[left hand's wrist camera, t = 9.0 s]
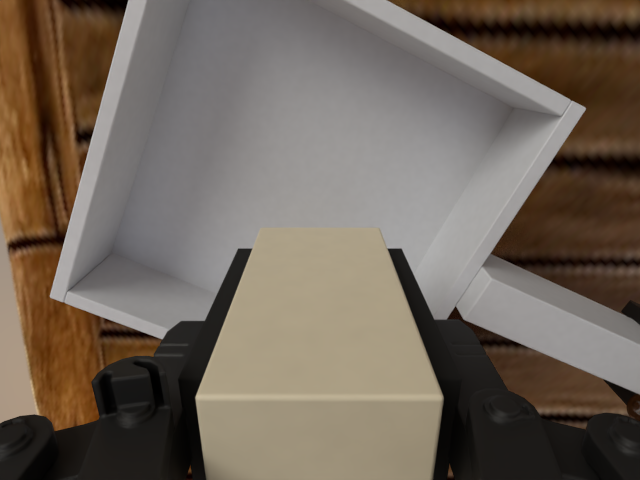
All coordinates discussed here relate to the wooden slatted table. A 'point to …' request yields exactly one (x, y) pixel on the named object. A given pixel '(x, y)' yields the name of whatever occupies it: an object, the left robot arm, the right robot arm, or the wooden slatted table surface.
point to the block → (319, 367)
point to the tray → (320, 166)
